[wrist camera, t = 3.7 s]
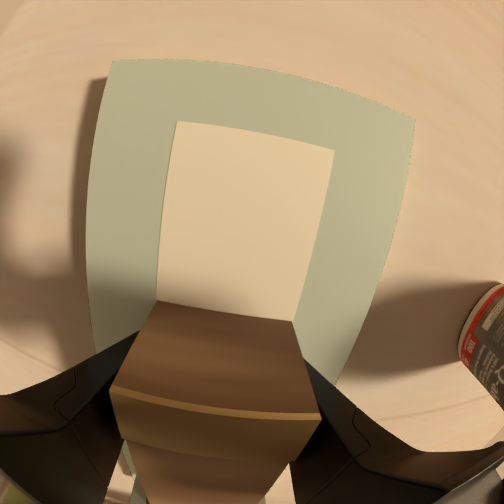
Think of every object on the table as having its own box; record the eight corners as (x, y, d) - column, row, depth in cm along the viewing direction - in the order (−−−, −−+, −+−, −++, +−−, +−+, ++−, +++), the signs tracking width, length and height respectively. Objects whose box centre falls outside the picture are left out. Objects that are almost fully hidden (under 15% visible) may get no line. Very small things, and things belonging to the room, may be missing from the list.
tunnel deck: (254, 494, 16) (258, 554, 10) (142, 478, 16) (129, 537, 9) (394, 123, 8) (544, 106, 2) (129, 73, 7) (6, -6, 1)
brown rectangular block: (237, 473, 12) (238, 529, 8) (164, 463, 12) (155, 518, 8) (291, 321, 9) (321, 419, 5) (156, 300, 8) (108, 390, 4)
